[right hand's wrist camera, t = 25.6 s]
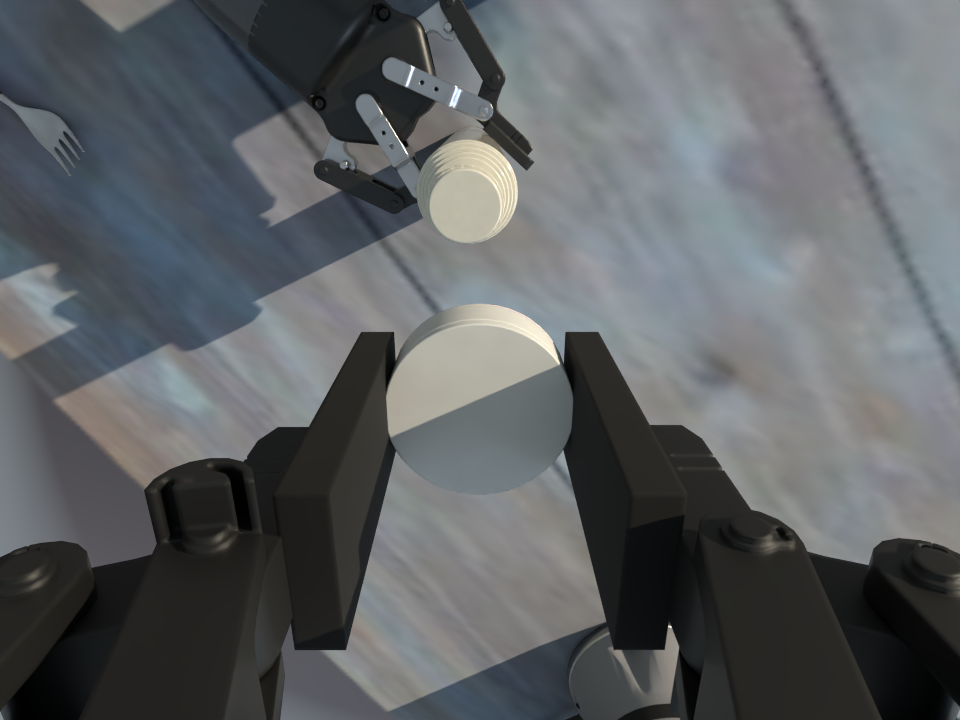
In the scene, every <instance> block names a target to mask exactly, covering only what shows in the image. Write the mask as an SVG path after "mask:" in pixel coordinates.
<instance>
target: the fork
mask: <svg viewBox="0 0 960 720" xmlns="http://www.w3.org/2000/svg"><path fill="white" fill-rule="evenodd" d="M0 101H2V102H3V103H5V104H6V105H8V106H9V107H11V108H12V109H13V110H14V111H15V112H16V113H17V114H18V115H19V117H20V118H21V119H22V121H23V122H24V123H25V125H26V126H27V127H28V129H29V130H30V132H31V133H32V134H33V135H34V137H35V138H36V139H37V140H38V141H39V143H40V144H41V145H42V146H43V147H44V148H45V149H47V150H48V151H49V152H50V153H51V154H52V155H53V156H54V157H55V158H56V160H57V161H58V162H59V163H60V164H61V165H62V167H63V168H64V169H65V170H66V172H67V173H68V175H69V176H71V174H70V172H69V170H68V169H67V167H66V166H65V164H64V163H63V161H62V160H61V158H60V157H59V155H58V154H57V153H56V151H55V147H57V148H58V149H59V150H60V151H61V152H62V154H63V155H64V156H65V157H66V158H67V160H68V161H69V162H70V163H71V165H72V166H73V167H74V168H76V167H75V165H74V163H73V162H72V160H71V159H70V157H69V156H68V154H67V153H66V151H65V150H64V148H63V147H62V146H61V144H60V142H59V139H61V140H62V141H63V142H64V143H65V144H66V145H67V146H68V148H69V149H70V150H71V151H72V152H73V154H74V155H75V156H76V157H77V159H78V160H80V158H79V156H78V155H77V153H76V152H75V150H74V149H73V147H72V146H71V144H70V143H69V141H68V140H67V139H66V137H65V136H64V133H63V132H64V131H65V132H66V133H67V134H68V135H69V136H70V137H71V138H72V139H73V140H74V141H75V143H76V144H77V145H78V146H79V148H80V149H81V150H82V152H85V151H84V149H83V148H82V146H81V144H80V143H79V141H78V140H77V139H76V137H75V136H74V134H73V133H72V132H71V130H70V129H69V128H68V126H67V125H66V124H65V122H64V121H63V120H62V119H61V118H60V117H59V116H57V115H56V114H54V113H52V112H49V111H46V110H41V109H35V108H28V107H23V106H20V105H17V104H15V103H14V102H12V101H11V100H10V99H8V98H7V97H6V96H5V95H4V94H3V93H1V92H0Z"/></svg>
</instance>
